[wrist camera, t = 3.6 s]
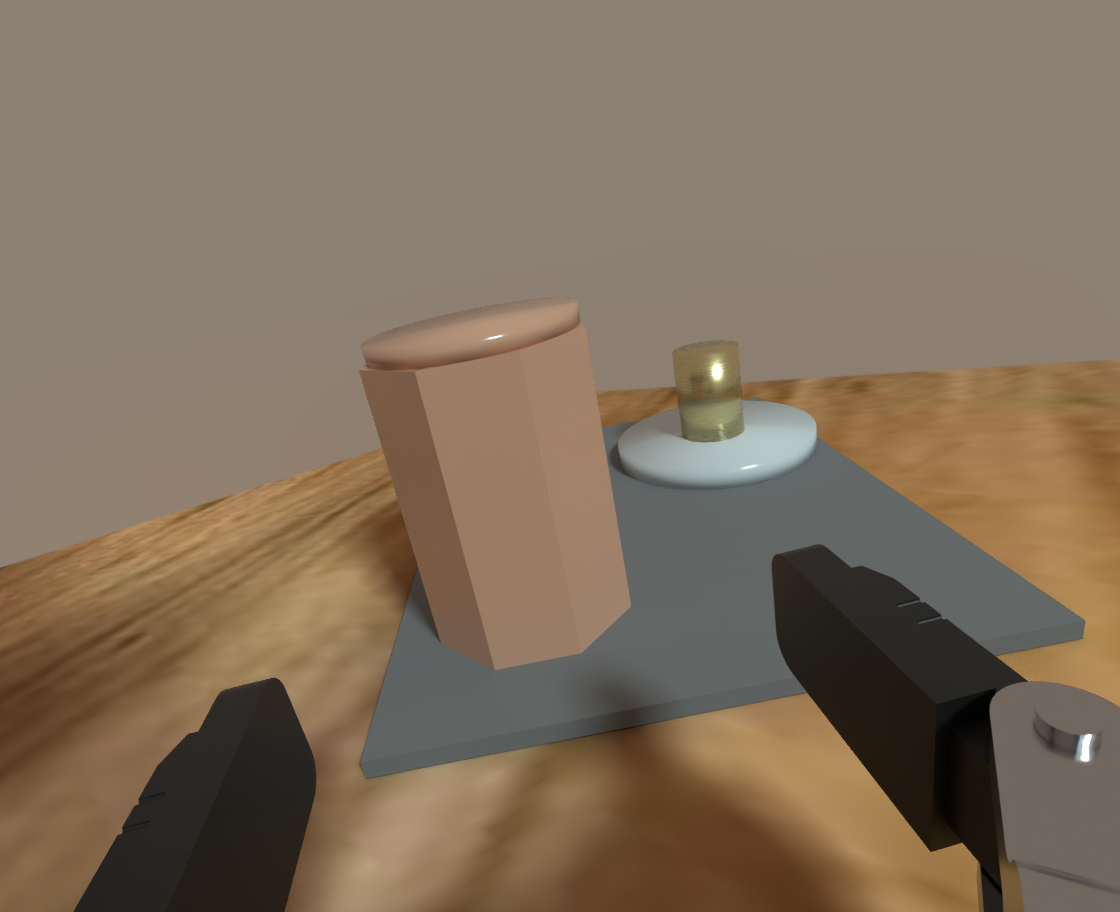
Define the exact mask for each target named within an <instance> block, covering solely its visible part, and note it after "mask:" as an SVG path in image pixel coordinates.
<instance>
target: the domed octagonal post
mask: <svg viewBox="0 0 1120 912" xmlns="http://www.w3.org/2000/svg"><path fill="white" fill-rule="evenodd" d="M361 348H362V352H363V355H364V358H365V362H366V364H365V365H364V366H363V367H362V368H361V369H360V370H359V373H360V376H361V379H362V383H363V386H364V389H365V393H366V396H367V399H368V402H369V406H370V409H371V412H372V416H373V419H374V422H375V426H376V429H377V432H378V436H379V439H380V442H381V445H382V449H383V452H384V456H385V459H386V462H387V466H388V469H389V472H390V476H391V479H392V482H393V485H394V489H395V492H396V495H397V499H398V502H399V505H400V509H401V512H402V515H403V519H404V522H405V525H406V529H407V532H408V535H409V539H410V542H411V545H412V549H413V552H414V555H415V558H416V562H417V565H418V568H419V572H420V575H421V578H422V582H423V585H424V588H425V592H426V595H427V598H428V602H429V605H430V608H431V612H432V615H433V618H434V622H435V625H436V628H437V631H438V635H439V638H440V641H441V643H442V644H444V645H446V646H448V647H450V648H452V649H454V650H456V651H458V652H460V653H462V654H464V655H466V656H468V657H470V658H472V659H474V660H476V661H478V662H480V663H482V664H484V665H486V666H488V667H490V668H492V669H494V670H498V669H503V668H508V667H513V666H519V665H524V664H529V663H534V662H539V661H544V660H549V659H554V658H560V657H565V656H570V655H575V654H580V653H582V652H583V651H584V650H585V649H586V648H587V647H588V646H589V645H591V644H592V643H593V642H594V641H595V640H596V639H597V638H598V637H599V636H600V635H601V634H602V633H603V632H604V631H605V630H606V629H608V628H609V627H610V626H611V625H612V624H613V623H614V622H615V621H616V620H617V619H618V618H619V617H620V616H621V615H622V614H623V613H624V612H626V611H627V610H628V609H629V608H630V607H631V601H630V595H629V589H628V583H627V577H626V571H625V565H624V559H623V553H622V547H621V541H620V535H619V529H618V523H617V517H616V511H615V505H614V499H613V493H612V487H611V481H610V475H609V469H608V463H607V457H606V451H605V445H604V439H603V433H602V427H601V421H600V415H599V409H598V403H597V397H596V391H595V384H594V379H593V373H592V367H591V361H590V355H589V348H588V343H587V336H586V330H585V326H584V325H583V323H582V322H581V321H580V316H579V310H578V305H577V300H576V299H573V298H543V299H532V300H524V301H517V302H510V303H504V304H497V305H492V306H486V307H481V308H475V309H470V310H466V311H461V312H457V313H452V314H447V315H443V316H439V317H435V318H431V319H427V320H423V321H419V322H415V323H412V324H409V325H405V326H402V327H398V328H395V329H392V330H389V331H386V332H383V333H381V334H378V335H376V336H373V337H371V338H369V339H367V340H366V341H364V342H363V343H362V344H361Z"/></svg>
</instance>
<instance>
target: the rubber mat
mask: <svg viewBox="0 0 1120 912" xmlns="http://www.w3.org/2000/svg"><path fill="white" fill-rule="evenodd" d="M743 401H763V400H762V399H760V398H759V397H758V398H753V399H748V400H743ZM764 402H765V401H764ZM640 421H641V420H640ZM638 422H639V421H635V422H630V423H625V424H620V425H614V426H609V427H604V428H602V433H603V439H604V445H605V451H606V457H607V463H608V469H609V475H610V481H611V487H612V493H613V499H614V505H615V511H616V517H617V523H618V529H619V535H620V541H621V547H622V553H623V559H624V565H625V571H626V577H627V583H628V589H629V595H630V601H631V607H630V608H629V609H628V610H627V611H626V612H624V613H623V614H622V615H621V616H620V617H619V618H618V619H617V620H616V621H615V622H614V623H613V624H612V625H611V626H610V627H609V628H608V629H606V630H605V631H604V632H603V633H602V634H601V635H600V636H599V637H598V638H597V639H596V640H595V641H594V642H593V643H592V644H591V645H589V646H588V647H587V648H586V649H585V650H584V651H583V652H582V653H580V654H575V655H570V656H565V657H560V658H554V659H549V660H544V661H539V662H534V663H529V664H524V665H519V666H513V667H508V668H503V669H498V670H494V669H492V668H490V667H488V666H486V665H484V664H482V663H480V662H478V661H476V660H474V659H472V658H470V657H468V656H466V655H464V654H462V653H460V652H458V651H456V650H454V649H452V648H450V647H448V646H446V645H444V644H442V643H441V641H440V638H439V635H438V631H437V628H436V625H435V622H434V618H433V615H432V612H431V608H430V605H429V602H428V598H427V595H426V592H425V588H424V585H423V582H422V578H421V575H420V572H419V568H418V566H417V569H416V573H415V576H414V580H413V583H412V586H411V590H410V593H409V597H408V600H407V604H406V607H405V610H404V614H403V617H402V621H401V624H400V628H399V631H398V634H397V638H396V641H395V645H394V648H393V651H392V655H391V658H390V662H389V665H388V669H387V672H386V675H385V679H384V682H383V686H382V689H381V693H380V696H379V699H378V703H377V706H376V710H375V713H374V716H373V720H372V723H371V727H370V730H369V734H368V737H367V740H366V744H365V747H364V751H363V754H362V758H361V761H360V763H361V766H362V768H363V771H364V774H365V776H366V779H368V778H373V777H378V776H383V775H388V774H393V773H398V772H403V771H408V770H414V769H419V768H424V767H429V766H434V765H439V764H444V763H449V762H454V761H460V760H465V759H470V758H475V757H480V756H485V755H490V754H495V753H500V752H506V751H511V750H516V749H521V748H526V747H531V746H536V745H541V744H546V743H551V742H557V741H562V740H567V739H572V738H577V737H582V736H587V735H592V734H597V733H603V732H608V731H613V730H618V729H623V728H628V727H633V726H638V725H643V724H649V723H654V722H659V721H664V720H669V719H674V718H679V717H684V716H689V715H695V714H700V713H705V712H710V711H715V710H720V709H725V708H730V707H735V706H741V705H746V704H751V703H756V702H761V701H766V700H771V699H776V698H781V697H787V696H792V695H797V694H802V693H807V692H806V690H805V689H804V688H803V686H802V685H801V684H800V683H799V681H798V680H797V679H796V677H795V676H794V675H793V674H792V672H791V671H790V669H789V668H788V666H787V664H786V662H785V660H784V658H783V656H782V653H781V650H780V647H779V644H778V640H777V635H776V624H775V610H774V596H773V582H772V566H771V565H772V559H773V557H774V556H775V555H776V554H779V553H783V552H787V551H792V550H796V549H800V548H804V547H808V546H812V545H816V544H822V545H824V546H825V547H827V548H828V549H829V550H831V551H832V552H833V553H834V554H835V555H837V556H838V557H839V558H840V559H841V560H843V561H844V562H845V563H846V564H847V565H849V566H850V567H851V568H853V567H857V566H861V565H862V566H864V567H867V568H869V569H872V570H874V571H877V572H879V573H882V574H884V575H887V576H889V577H892V578H894V579H896V580H897V581H898V582H900V583H901V584H902V585H904V586H905V587H906V588H907V589H909V590H910V591H911V592H913V593H914V594H915V595H917V596H918V597H919V598H920V601H921V602H922V603H923V602H926V603H927V604H928V605H930V606H931V607H932V608H933V609H935V610H936V611H937V612H939V613H940V614H941V616H942V618H943V619H948V620H949V621H950V622H952V623H953V624H954V625H956V626H957V627H958V628H959V629H961V630H962V631H963V632H965V633H966V634H967V635H969V636H970V637H971V638H972V639H974V640H975V641H976V642H978V643H979V644H980V645H982V646H983V647H984V648H985V649H987V650H988V651H989V652H991V653H992V654H993V655H994V656H996V655H1001V654H1006V653H1011V652H1016V651H1022V650H1027V649H1032V648H1037V647H1042V646H1047V645H1052V644H1057V643H1062V642H1068V641H1073V640H1078V639H1083V633H1084V626H1085V620H1084V619H1083V618H1081V617H1080V616H1078V615H1077V614H1075V613H1074V612H1072V611H1071V610H1069V609H1068V608H1066V607H1065V606H1064V605H1062V604H1061V603H1059V602H1058V601H1056V600H1055V599H1053V598H1052V597H1050V596H1049V595H1047V594H1046V593H1044V592H1043V591H1042V590H1040V589H1039V588H1037V587H1036V586H1034V585H1033V584H1031V583H1030V582H1028V581H1027V580H1025V579H1024V578H1022V577H1021V576H1020V575H1018V574H1017V573H1015V572H1014V571H1012V570H1011V569H1009V568H1008V567H1006V566H1005V565H1003V564H1002V563H1001V562H999V561H998V560H996V559H995V558H993V557H992V556H990V555H989V554H987V553H986V552H984V551H983V550H981V549H980V548H979V547H977V546H976V545H974V544H973V543H971V542H970V541H968V540H967V539H965V538H964V537H962V536H961V535H959V534H958V533H957V532H955V531H954V530H952V529H951V528H949V527H948V526H946V525H945V524H943V523H942V522H940V521H939V520H938V519H936V518H935V517H933V516H932V515H930V514H929V513H927V512H926V511H924V510H923V509H921V508H920V507H918V506H917V505H916V504H914V503H913V502H911V501H910V500H908V499H907V498H905V497H904V496H902V495H901V494H899V493H898V492H896V491H895V490H894V489H892V488H891V487H889V486H888V485H886V484H885V483H883V482H882V481H880V480H879V479H877V478H876V477H874V476H873V475H872V474H870V473H869V472H867V471H866V470H864V469H863V468H861V467H860V466H858V465H857V464H855V463H854V462H853V461H851V460H850V459H848V458H847V457H845V456H844V455H842V454H841V453H839V452H838V451H836V450H835V449H833V448H832V447H831V446H829V445H828V444H826V443H825V442H823V441H822V440H820V439H819V438H817V449H816V451H815V454H814V455H813V456H812V457H811V459H810V460H808V461H807V462H806V463H805V464H804V465H802V466H800V467H799V468H797V469H796V470H793V471H791V472H789V473H787V474H785V475H782V476H779V477H777V478H774V479H771V480H767V481H764V482H760V483H756V484H751V485H746V486H740V487H734V488H726V489H714V490H681V489H671V488H663V487H658V486H653V485H650V484H647V483H643V482H641V481H638V480H636V479H634V478H633V477H631V476H629V475H628V474H627V473H626V472H625V471H624V470H623V468H622V466H621V462H620V456H619V450H618V440H619V438H620V436H621V435H622V434H623V433H624V432H625V431H626V430H627V429H628V428H630V427H631V426H632V425H634V424H636V423H638Z"/></svg>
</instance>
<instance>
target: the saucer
mask: <svg viewBox="0 0 1120 912" xmlns="http://www.w3.org/2000/svg"><path fill="white" fill-rule="evenodd" d="M742 402H743V415H744V427H745V430H744V432H743V433H742V434H740V435H739V436H737V437H734V438H731V439H728V440H724V441H719V442H708V443H702V442H693V441H689V440H686V439H685V438H683V437H682V432H681V423H680V415H679V408H676V409H672V410H668V411H665V412H662V413H659V414H656V415H653V416H650V417H648V418H646V419H644V420H641V421H639V422H638V423H636V424H634V425H632V426H631V427H630V428H628V429H627V430H626V431H625V432H624V433H623V434H622V435H621V436H620V438H619V440H618V450H619V456H620V462H621V466H622V468H623V470H624V471H625V472H626V473H627V474H628V475H629V476H631V477H633V478H634V479H636V480H638V481H641V482H643V483H647V484H650V485H653V486H658V487H663V488H671V489H681V490H714V489H726V488H734V487H740V486H746V485H751V484H756V483H760V482H764V481H767V480H771V479H774V478H777V477H779V476H782V475H785V474H787V473H789V472H791V471H793V470H796V469H797V468H799V467H800V466H802V465H804V464H805V463H806V462H807V461H808V460H810V459H811V457H812V456H813V455H814V454H815V451H816V449H817V433H816V423H815V420H814V419H813V418H812V417H811V416H810V415H809V414H808V413H806V412H804V411H802V410H800V409H797V408H795V407H792V406H788V405H784V404H779V403H772V402H764V401H742Z"/></svg>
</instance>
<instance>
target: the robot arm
mask: <svg viewBox="0 0 1120 912" xmlns="http://www.w3.org/2000/svg"><path fill="white" fill-rule="evenodd" d="M771 566H772V582H773V596H774V610H775V624H776V635H777V640H778V644H779V647H780V650H781V653H782V656H783V658H784V660H785V662H786V664H787V666H788V668H789V669H790V671H791V672H792V674H793V675H794V676H795V677H796V679H797V680H798V681H799V683H800V684H801V685H802V686H803V688H804V689H805V690H806V692H807V693H808V694H809V695H810V697H811V698H812V699H813V701H814V702H815V703H816V705H817V706H818V707H819V708H820V710H821V711H822V712H823V714H824V715H825V716H826V717H827V719H828V720H829V721H830V723H831V724H832V725H833V726H834V728H835V729H836V730H837V732H838V733H839V734H840V735H841V737H842V738H843V739H844V741H845V742H846V743H847V745H848V746H849V747H850V748H851V750H852V751H853V752H854V754H855V755H856V756H857V757H858V759H859V760H860V761H861V763H862V764H863V765H864V766H865V768H866V769H867V770H868V772H869V773H870V774H871V775H872V777H873V778H874V779H875V781H876V782H877V783H878V785H879V786H880V787H881V788H882V790H883V791H884V792H885V794H886V795H887V796H888V797H889V799H890V800H891V801H892V803H893V804H894V805H895V806H896V808H897V809H898V810H899V812H900V813H901V814H902V815H903V817H904V818H905V819H906V821H907V822H908V823H909V825H910V826H911V827H912V828H913V830H914V831H915V832H916V834H917V835H918V836H919V837H920V839H921V840H922V841H923V843H924V844H925V845H926V846H927V848H928V849H929V850H930V852H932V851H936V850H939V849H942V848H946V847H949V846H953V845H956V844H959V843H963V844H964V845H965V846H966V847H967V848H968V850H969V851H970V852H971V853H972V854H973V856H974V857H975V858H976V859H977V860H978V865H977V889H978V902H979V912H1120V707H1119V706H1117V705H1115V704H1113V703H1112V702H1110V701H1108V700H1106V699H1104V698H1102V697H1100V696H1098V695H1096V694H1093V693H1090V692H1088V691H1085V690H1082V689H1079V688H1076V687H1072V686H1068V685H1063V684H1059V683H1052V682H1038V681H1031V682H1028V681H1027V680H1026V679H1024V678H1023V677H1022V676H1020V675H1019V674H1018V673H1017V672H1015V671H1014V670H1013V669H1011V668H1010V667H1009V666H1007V665H1006V664H1005V663H1004V662H1002V661H1001V660H1000V659H998V658H997V657H996V656H994V655H993V654H992V653H991V652H989V651H988V650H987V649H985V648H984V647H983V646H982V645H980V644H979V643H978V642H976V641H975V640H974V639H972V638H971V637H970V636H969V635H967V634H966V633H965V632H963V631H962V630H961V629H959V628H958V627H957V626H956V625H954V624H953V623H952V622H950V621H949V620H948V619H943V618H942V616H941V614H940V613H939V612H937V611H936V610H935V609H933V608H932V607H931V606H930V605H928V604H927V603H926V602H923V603H922V602H921V601H920V598H919V597H918V596H917V595H915V594H914V593H913V592H911V591H910V590H909V589H907V588H906V587H905V586H904V585H902V584H901V583H900V582H898V581H897V580H896V579H894V578H892V577H889V576H887V575H884V574H882V573H879V572H877V571H874V570H872V569H869V568H867V567H864V566H862V565H861V566H857V567H853V568H851V567H850V566H849V565H847V564H846V563H845V562H844V561H843V560H841V559H840V558H839V557H838V556H837V555H835V554H834V553H833V552H832V551H831V550H829V549H828V548H827V547H825V546H824V545H822V544H816V545H812V546H808V547H804V548H800V549H796V550H792V551H787V552H783V553H779V554H776V555H775V556H774V557H773V559H772V565H771ZM315 790H316V769H315V762H314V758H313V754H312V751H311V749H310V746H309V744H308V742H307V739H306V737H305V734H304V732H303V730H302V727H301V725H300V723H299V720H298V718H297V715H296V713H295V711H294V708H293V706H292V704H291V701H290V699H289V696H288V694H287V692H286V689H285V687H284V685H283V684H282V682H281V681H280V680H278V679H277V678H270V679H266V680H262V681H258V682H254V683H250V684H246V685H242V686H238V687H234V688H230V689H226V690H223V691H222V692H220V694H219V695H218V696H217V698H216V700H215V701H214V703H213V705H212V707H211V709H210V711H209V713H208V715H207V716H206V718H205V720H204V722H203V724H202V726H201V728H200V730H199V731H198V732H194V733H190V734H188V735H187V736H186V737H185V738H184V739H183V740H182V741H181V742H180V743H179V744H178V745H177V746H176V747H175V748H174V749H173V750H172V751H171V752H170V753H169V754H168V756H167V757H166V758H165V759H164V760H163V761H162V762H161V763H160V764H159V765H158V766H157V768H156V769H155V771H154V773H153V775H152V776H151V778H150V780H149V782H148V783H147V785H146V787H145V789H144V790H143V792H142V794H141V795H140V797H139V805H136V806H134V808H133V809H132V811H131V813H130V815H129V816H128V818H127V820H126V822H125V823H124V825H123V827H122V829H123V832H122V834H120V835H117V837H116V839H115V841H114V842H113V844H112V846H111V848H110V849H109V851H108V853H107V854H106V856H105V858H104V860H103V861H102V863H101V865H100V867H99V868H98V870H97V872H96V874H95V875H94V877H93V879H92V880H91V882H90V884H89V886H88V887H87V889H86V891H85V893H84V894H83V896H82V898H81V900H80V901H79V903H78V905H77V906H76V908H75V910H74V912H284V911H285V907H286V904H287V900H288V896H289V892H290V888H291V884H292V881H293V877H294V873H295V869H296V865H297V862H298V858H299V854H300V850H301V846H302V842H303V839H304V835H305V831H306V827H307V823H308V819H309V816H310V812H311V808H312V804H313V800H314V796H315Z"/></svg>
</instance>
